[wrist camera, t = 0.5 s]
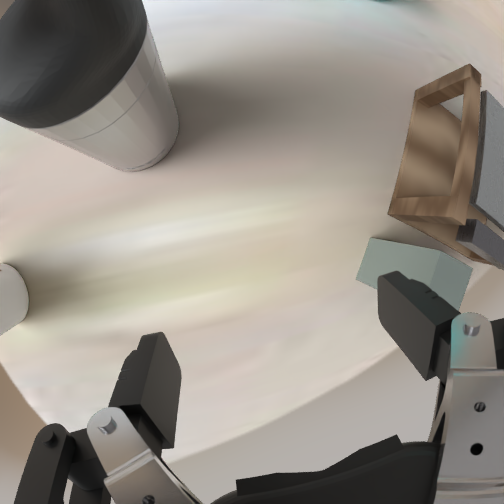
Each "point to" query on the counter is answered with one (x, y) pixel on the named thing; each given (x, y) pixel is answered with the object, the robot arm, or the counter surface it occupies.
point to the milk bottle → (12, 298)
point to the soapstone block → (416, 268)
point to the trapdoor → (487, 185)
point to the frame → (441, 161)
